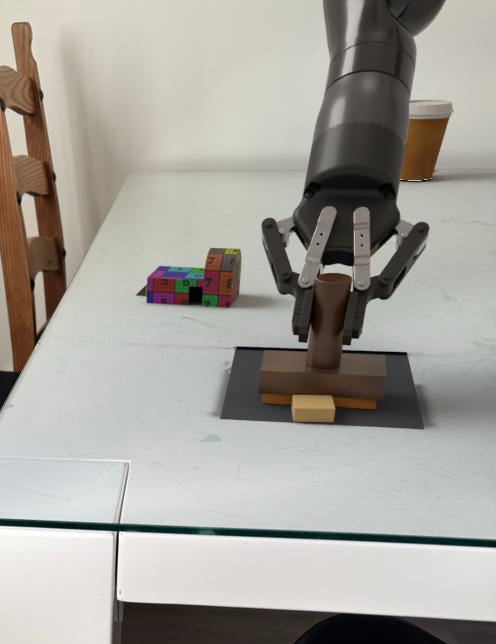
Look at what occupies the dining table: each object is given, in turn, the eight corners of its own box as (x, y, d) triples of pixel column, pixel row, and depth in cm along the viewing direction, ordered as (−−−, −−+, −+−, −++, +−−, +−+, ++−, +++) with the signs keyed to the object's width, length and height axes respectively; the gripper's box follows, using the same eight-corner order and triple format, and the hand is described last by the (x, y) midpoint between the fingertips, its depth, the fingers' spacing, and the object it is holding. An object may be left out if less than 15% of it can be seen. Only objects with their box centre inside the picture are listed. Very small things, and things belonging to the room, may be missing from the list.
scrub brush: (379, 388, 86) (399, 270, 81) (380, 411, 83) (401, 288, 77) (261, 383, 89) (272, 267, 83) (257, 404, 85) (267, 285, 79)
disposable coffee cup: (414, 185, 171) (427, 106, 165) (372, 178, 178) (383, 102, 172) (453, 179, 175) (467, 101, 168) (411, 172, 182) (423, 98, 176)
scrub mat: (404, 358, 97) (406, 347, 96) (422, 440, 80) (424, 428, 79) (235, 352, 100) (236, 342, 100) (218, 430, 83) (219, 418, 83)
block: (242, 300, 116) (247, 238, 112) (228, 319, 110) (233, 255, 106) (141, 294, 120) (143, 234, 116) (123, 313, 113) (124, 250, 110)
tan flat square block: (330, 408, 84) (332, 394, 83) (333, 422, 81) (335, 408, 80) (291, 408, 84) (292, 394, 83) (293, 422, 81) (294, 408, 81)
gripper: (270, 118, 82) (234, 310, 79) (454, 117, 78) (422, 320, 75) (272, 177, 89) (239, 356, 86) (441, 179, 85) (411, 367, 82)
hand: (325, 338), depth 81 cm, fingers closed on scrub brush, 3 cm apart
